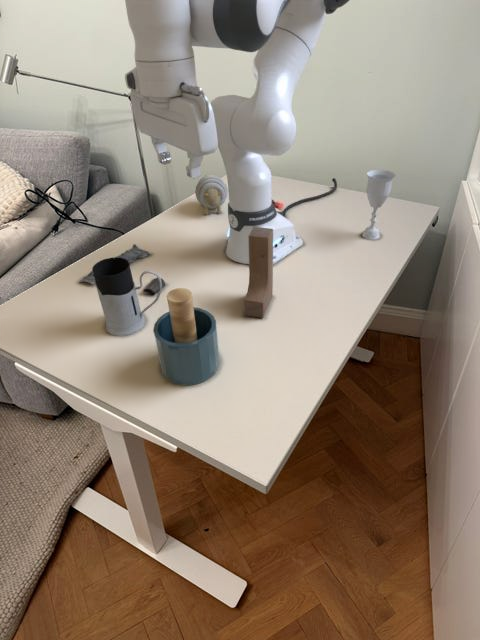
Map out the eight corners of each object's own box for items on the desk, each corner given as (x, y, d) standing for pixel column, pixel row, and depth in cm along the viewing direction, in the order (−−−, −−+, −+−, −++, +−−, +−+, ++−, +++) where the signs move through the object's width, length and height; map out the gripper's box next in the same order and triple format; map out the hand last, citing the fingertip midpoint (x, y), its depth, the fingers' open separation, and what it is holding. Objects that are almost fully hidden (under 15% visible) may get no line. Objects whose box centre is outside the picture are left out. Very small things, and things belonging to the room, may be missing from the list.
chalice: (356, 238, 126) (364, 177, 114) (360, 228, 131) (369, 168, 119) (382, 242, 123) (393, 180, 112) (385, 232, 128) (396, 171, 117)
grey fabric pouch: (92, 289, 110) (90, 282, 109) (75, 280, 113) (73, 274, 112) (151, 255, 123) (150, 248, 122) (135, 248, 126) (133, 242, 125)
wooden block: (263, 318, 98) (263, 248, 87) (244, 315, 99) (241, 245, 88) (272, 296, 105) (273, 228, 93) (254, 293, 106) (253, 226, 95)
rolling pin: (192, 350, 89) (183, 285, 79) (204, 361, 86) (196, 295, 76) (173, 359, 87) (162, 294, 77) (185, 371, 84) (175, 305, 74)
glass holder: (111, 311, 102) (96, 256, 93) (171, 311, 101) (162, 255, 92) (100, 336, 95) (83, 278, 86) (165, 335, 95) (154, 277, 85)
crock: (198, 337, 94) (193, 299, 87) (230, 366, 86) (228, 327, 80) (151, 361, 88) (142, 323, 82) (181, 394, 81) (174, 355, 75)
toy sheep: (199, 220, 139) (196, 187, 132) (194, 200, 152) (191, 168, 145) (232, 217, 140) (230, 183, 133) (224, 197, 153) (222, 165, 146)
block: (143, 294, 107) (142, 288, 106) (154, 281, 112) (153, 275, 111) (157, 296, 106) (156, 290, 105) (167, 283, 111) (166, 277, 110)
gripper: (224, 85, 61) (229, 181, 70) (153, 69, 74) (165, 152, 83) (186, 92, 58) (197, 191, 67) (119, 74, 71) (135, 160, 80)
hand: (178, 169), depth 75 cm, fingers open, 8 cm apart
